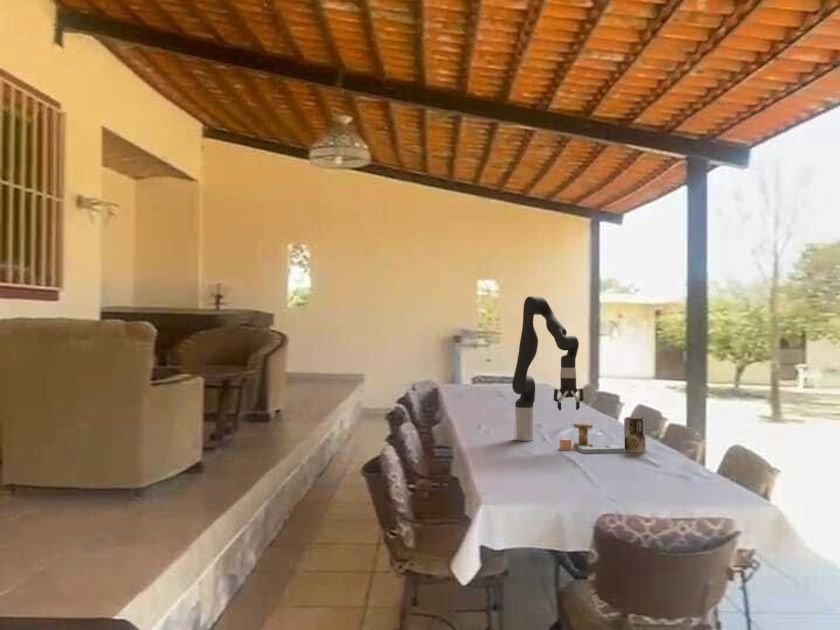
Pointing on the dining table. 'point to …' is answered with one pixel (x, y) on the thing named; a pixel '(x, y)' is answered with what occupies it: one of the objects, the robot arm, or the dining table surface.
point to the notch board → (601, 449)
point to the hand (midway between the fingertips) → (568, 409)
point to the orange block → (565, 444)
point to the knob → (583, 434)
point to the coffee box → (634, 434)
